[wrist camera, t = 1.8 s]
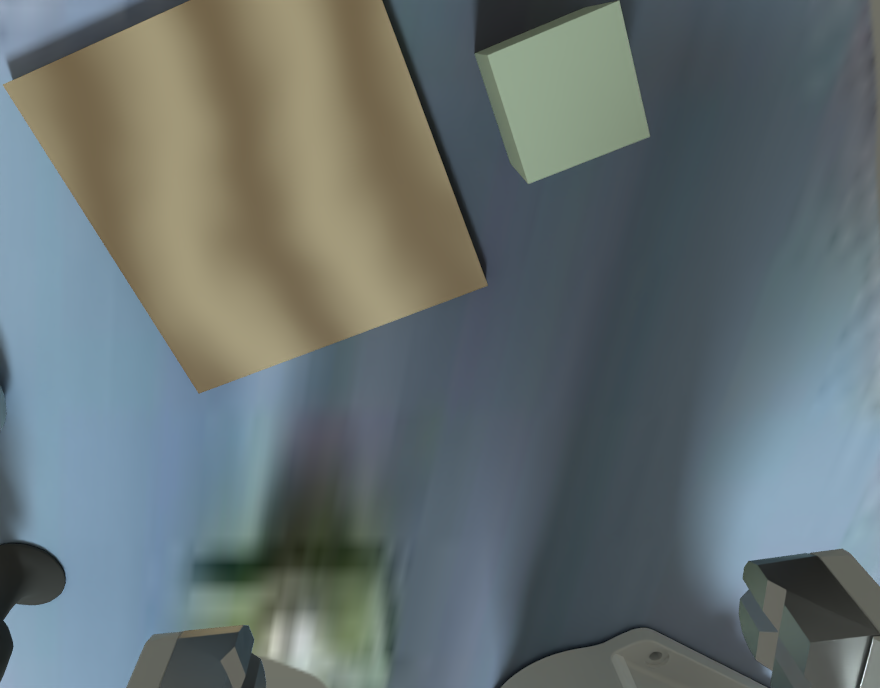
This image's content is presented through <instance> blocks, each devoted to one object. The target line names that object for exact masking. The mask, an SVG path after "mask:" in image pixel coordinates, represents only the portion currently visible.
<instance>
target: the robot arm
mask: <svg viewBox="0 0 880 688" xmlns="http://www.w3.org/2000/svg"><path fill="white" fill-rule="evenodd" d="M743 580H744V582H745V583H746V585H747V587H748V588H749V590H748V591H747V592H746V593H745V594H744V595H743V596H742V597H741V598H740V605H739V618H740V623H741V628H742V632H743V635H744V638H745V640H746V643H747V645H748V647H749V649H750V651H751V652H752V654H753V656H754V658H755V660H757V661H758V662H760V663H761V664H763V665H764V666H766V667H767V668H769V669H770V670H772V677H771V684H770V686H771V688H880V586H879V585H878V584H877V583H876V582H875V581H874V580H873V578H872V577H871V576H870V575H869V574H868V573H867V572H866V571H865V569H864V568H863V567H862V566H861V565H860V564H859V563H858V562H857V560H856V559H855V558H854V557H853V556H852V555H851V554H850V553H849V552H847V551H845V550H844V549H836V550H829V551H821V552H813V553H810V554H808V553H803V554H796V555H789V556H782V557H774V558H767V559H760V560H753V561H748V563H747V564H746V565H745V567H744V573H743ZM253 643H254V638H253V636H252V633H251V630H250V628H249V626H247V625H239V626H229V627H219V628H209V629H199V630H188V631H182V632H173V633H163V634H154V635H152V637H151V638H150V639H149V640H148V641H147V642H146V643H145V645H144V647H143V650H142V652H141V654H140V657H139V659H138V661H137V664H136V666H135V669H134V671H133V673H132V676H131V678H130V680H129V683H128V685H127V687H126V688H266V679H265V672H264V668H263V664H262V661H261V659H260V658H259V657H257V656H256V655H254V654H253V653H251V651H252V647H253ZM501 688H768V687H766V686H764V685H762V684H760V683H758V682H756V681H754V680H752V679H750V678H748V677H746V676H744V675H742V674H740V673H738V672H736V671H734V670H732V669H730V668H728V667H726V666H724V665H722V664H720V663H718V662H716V661H714V660H712V659H710V658H708V657H706V656H704V655H702V654H700V653H698V652H696V651H694V650H692V649H690V648H688V647H686V646H684V645H682V644H680V643H678V642H676V641H674V640H672V639H670V638H668V637H666V636H664V635H662V634H660V633H658V632H656V631H654V630H652V629H649V628H637V629H633V630H630V631H628V632H625V633H623V634H621V635H619V636H616V637H614V638H612V639H610V640H608V641H606V642H604V643H602V644H599V645H595V646H590V647H585V648H579V649H573V650H569V651H564V652H561V653H557V654H554V655H551V656H548V657H546V658H543V659H541V660H539V661H537V662H534V663H533V664H531V665H529V666H527V667H525V668H524V669H522V670H521V671H519V672H518V673H516V674H515V675H514V676H512V677H511V678H510V679H509V680H508V681H507V682H506V683H505V684H504V685H503V686H502V687H501Z"/></svg>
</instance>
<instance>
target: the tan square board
mask: <svg viewBox="0 0 880 688" xmlns="http://www.w3.org/2000/svg"><path fill="white" fill-rule="evenodd" d="M3 86H4V88H5V89H6V91H7V92H8V94H9V95H10V97H11V99H12V100H13V102H14V103H15V105H16V106H17V108H18V110H19V111H20V113H21V114H22V116H23V117H24V119H25V121H26V122H27V124H28V125H29V127H30V129H31V130H32V132H33V133H34V135H35V136H36V138H37V140H38V141H39V143H40V144H41V146H42V147H43V149H44V151H45V152H46V154H47V155H48V157H49V158H50V160H51V162H52V163H53V165H54V166H55V168H56V169H57V171H58V173H59V174H60V176H61V177H62V179H63V180H64V182H65V184H66V185H67V187H68V188H69V190H70V192H71V193H72V195H73V196H74V198H75V199H76V201H77V203H78V204H79V206H80V207H81V209H82V210H83V212H84V214H85V215H86V217H87V218H88V220H89V221H90V223H91V225H92V226H93V228H94V229H95V231H96V232H97V234H98V236H99V237H100V239H101V240H102V242H103V243H104V245H105V247H106V248H107V250H108V251H109V253H110V254H111V256H112V258H113V259H114V261H115V262H116V264H117V266H118V267H119V269H120V270H121V272H122V273H123V275H124V277H125V278H126V280H127V281H128V283H129V284H130V286H131V288H132V289H133V291H134V292H135V294H136V295H137V297H138V299H139V300H140V302H141V303H142V305H143V306H144V308H145V310H146V311H147V313H148V314H149V316H150V317H151V319H152V321H153V322H154V324H155V325H156V327H157V329H158V330H159V332H160V333H161V335H162V336H163V338H164V340H165V341H166V343H167V344H168V346H169V347H170V349H171V351H172V352H173V354H174V355H175V357H176V358H177V360H178V362H179V363H180V365H181V366H182V368H183V369H184V371H185V373H186V374H187V376H188V377H189V379H190V380H191V382H192V384H193V385H194V387H195V388H196V390H197V391H198V393H202V392H204V391H207V390H210V389H212V388H215V387H218V386H221V385H223V384H226V383H229V382H231V381H234V380H237V379H239V378H242V377H245V376H247V375H250V374H253V373H255V372H258V371H261V370H263V369H266V368H269V367H271V366H274V365H277V364H279V363H282V362H285V361H287V360H290V359H293V358H295V357H298V356H301V355H303V354H306V353H309V352H312V351H314V350H317V349H320V348H322V347H325V346H328V345H330V344H333V343H336V342H338V341H341V340H344V339H346V338H349V337H352V336H354V335H357V334H360V333H362V332H365V331H368V330H370V329H373V328H376V327H378V326H381V325H384V324H386V323H389V322H392V321H395V320H397V319H400V318H403V317H405V316H408V315H411V314H413V313H416V312H419V311H421V310H424V309H427V308H429V307H432V306H435V305H437V304H440V303H443V302H445V301H448V300H451V299H453V298H456V297H459V296H461V295H464V294H467V293H469V292H472V291H475V290H477V289H480V288H483V287H486V286H488V284H487V281H486V279H485V276H484V273H483V271H482V268H481V265H480V262H479V260H478V257H477V254H476V252H475V249H474V246H473V244H472V241H471V238H470V235H469V233H468V230H467V227H466V225H465V222H464V219H463V217H462V214H461V211H460V209H459V206H458V203H457V200H456V198H455V195H454V192H453V190H452V187H451V184H450V182H449V179H448V176H447V173H446V171H445V168H444V165H443V163H442V160H441V157H440V155H439V152H438V149H437V147H436V144H435V141H434V138H433V136H432V133H431V130H430V128H429V125H428V122H427V120H426V117H425V114H424V111H423V109H422V106H421V103H420V101H419V98H418V95H417V93H416V90H415V87H414V84H413V82H412V79H411V76H410V74H409V71H408V68H407V66H406V63H405V60H404V58H403V55H402V52H401V49H400V47H399V44H398V41H397V39H396V36H395V33H394V31H393V28H392V25H391V22H390V20H389V17H388V14H387V12H386V9H385V6H384V4H383V1H382V0H190V1H187V2H185V3H183V4H181V5H179V6H176V7H174V8H172V9H170V10H167V11H165V12H163V13H161V14H159V15H156V16H154V17H152V18H150V19H147V20H145V21H143V22H141V23H139V24H136V25H134V26H132V27H130V28H128V29H125V30H123V31H121V32H119V33H116V34H114V35H112V36H110V37H108V38H105V39H103V40H101V41H99V42H96V43H94V44H92V45H90V46H88V47H85V48H83V49H81V50H79V51H77V52H74V53H72V54H70V55H68V56H65V57H63V58H61V59H59V60H57V61H54V62H52V63H50V64H48V65H46V66H43V67H41V68H39V69H37V70H34V71H32V72H30V73H28V74H26V75H23V76H21V77H19V78H17V79H14V80H12V81H10V82H8V83H6V84H3Z"/></svg>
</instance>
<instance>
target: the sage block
mask: <svg viewBox="0 0 880 688" xmlns="http://www.w3.org/2000/svg"><path fill="white" fill-rule="evenodd" d="M475 57H476V60H477V63H478V66H479V69H480V72H481V75H482V78H483V81H484V84H485V87H486V90H487V93H488V96H489V100H490V103H491V106H492V109H493V112H494V115H495V118H496V121H497V124H498V127H499V130H500V133H501V136H502V139H503V143H504V146H505V149H506V152H507V155H508V158H509V161H510V163H511V165H512V166H513V167H514V168H515V169H516V170H517V172H518V173H519V174H520V175H521V176H522V177H523V178H524V180H525V181H526V182H527V183H528V184H530V183H532V182H535V181H537V180H540V179H543V178H545V177H548V176H550V175H553V174H555V173H558V172H561V171H563V170H566V169H568V168H571V167H573V166H576V165H578V164H581V163H584V162H586V161H589V160H591V159H594V158H596V157H599V156H602V155H604V154H607V153H609V152H612V151H614V150H617V149H620V148H622V147H625V146H627V145H630V144H632V143H635V142H638V141H640V140H643V139H645V138H648V137H650V134H649V129H648V125H647V121H646V116H645V112H644V107H643V103H642V98H641V94H640V90H639V85H638V81H637V76H636V72H635V68H634V63H633V59H632V54H631V50H630V45H629V41H628V37H627V32H626V28H625V23H624V19H623V15H622V10H621V6H620V1H614V2H609V3H604V4H599V5H594V6H589V7H584V8H582V9H580V10H577V11H575V12H572V13H570V14H568V15H565V16H563V17H560V18H558V19H556V20H553V21H551V22H548V23H546V24H544V25H541V26H539V27H536V28H534V29H532V30H529V31H527V32H524V33H522V34H520V35H517V36H515V37H513V38H510V39H508V40H505V41H503V42H501V43H498V44H496V45H493V46H491V47H489V48H486V49H484V50H481V51H479V52H477V53H475Z"/></svg>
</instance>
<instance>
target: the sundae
mask: <svg viewBox="0 0 880 688" xmlns="http://www.w3.org/2000/svg"><path fill="white" fill-rule="evenodd" d="M65 583H66V582H65V575H64V571H63V569H62V568H61V566H60V564H59V563H58V562H57V561H56V559H55V558H53V557H52V556H51V555H49V554H48V553H46V552H45V551H43V550H41V549H39V548H36V547H33V546H30V545H26V544H17V543H8V544H3V545H0V681H1V679H2V677H3V675H4V673H5V670H6V667H7V664H8V662H9V659H10V656H11V654H12V651H13V641H12V638H11V634H10V631H9V628H8V627H7V625H6V623H5V622H4V621H3V620H4V619H5V617H6V616H7V614H8V613H9V611H10V610H11V609H12V607H13V606H14V605H15V604H22V605H39V604H44V603H47V602H50V601H52V600H53V599H55V598H56V597H58V596H59V595H60V594H61V593H62V591H63V589H64V586H65Z"/></svg>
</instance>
